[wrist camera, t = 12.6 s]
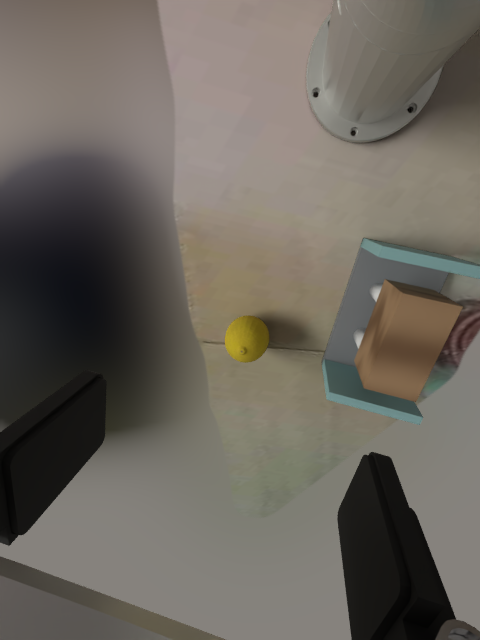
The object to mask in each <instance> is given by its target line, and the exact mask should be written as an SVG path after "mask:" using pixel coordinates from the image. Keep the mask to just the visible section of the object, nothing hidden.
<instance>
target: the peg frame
mask: <svg viewBox="0 0 480 640" xmlns="http://www.w3.org/2000/svg"><path fill="white" fill-rule="evenodd" d="M449 272H450V273H455V274H459V275H464V276H469V277H473V278H478V279H480V265H478V264H475V263H472V262H468V261H465V260H462V259H458V258H455V257H451V256H447V255H442V254H437V253H432V252H428V251H423V250H418V249H413V248H409V247H404V246H399V245H395V244H390V243H385V242H380V241H376V240H371V239H366V238H363V240H362V243H361V246H360V249H359V252H358V255H357V258H356V261H355V264H354V267H353V270H352V273H351V276H350V279H349V282H348V285H347V288H346V290H345V293H344V296H343V299H342V302H341V305H340V308H339V311H338V314H337V317H336V320H335V323H334V326H333V329H332V332H331V335H330V338H329V341H328V344H327V347H326V350H325V353H324V356H323V359H322V369H323V376H324V383H325V391H326V398H327V400H330V401H334V402H337V403H341V404H345V405H348V406H352V407H356V408H359V409H363V410H367V411H370V412H374V413H378V414H381V415H385V416H389V417H392V418H396V419H400V420H404V421H407V422H411V423H414V424H419V425H420V423H421V421H422V419H423V416H422V415H421V413H420V411H419V409H418V408H417V406H416V404H415V403H414V401H410V400H406V399H402V398H398V397H395V396H391V395H387V394H383V393H379V392H376V391H372V390H368V389H364V387H363V384H362V381H361V379H360V376H359V373H358V370H357V367H356V365H355V362H354V359H355V357H356V354H357V352H358V349H359V346H360V344H361V341H362V338H363V336H364V333H365V330H366V328H367V325H368V322H369V320H370V317H371V315H372V312H373V309H374V307H375V304H376V301H377V299H378V296H379V293H380V291H381V288H382V285H383V283H384V280H385V279H387V280H391V281H396V282H400V283H405V284H409V285H414V286H419V287H423V288H428V289H432V290H435V291H437V292H438V293H440V291H441V289H442V287H443V284H444V282H445V280H446V278H447V276H448V274H449Z"/></svg>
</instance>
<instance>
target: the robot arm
mask: <svg viewBox="0 0 480 640" xmlns="http://www.w3.org/2000/svg"><path fill="white" fill-rule="evenodd" d="M479 28H480V0H333V4H332V11H331V13H330V14H329V15H328V16H327V18H326V19H325V21H324V22H323V24H322V25H321V27H320V29H319V31H318V33H317V35H316V37H315V39H314V41H313V44H312V47H311V51H310V54H309V57H308V64H307V71H306V87H307V96H308V100H309V103H310V107H311V109H312V111H313V113H314V115H315V117H316V119H317V121H318V122H319V123H320V124H321V126H322V127H323V128H324V129H325V130H326V131H328V132H329V133H330V134H331V135H333V136H335V137H337V138H339V139H341V140H344V141H348V142H353V143H367V142H372V141H377V140H380V139H382V138H385V137H388V136H390V135H392V134H393V133H395V132H396V131H398V130H400V129H401V128H403V127H404V126H405V125H406V124H408V123H409V122H410V121H411V120H412V119H413V118H414V117H415V116H416V115H417V114H418V113H419V112H420V111H421V110H422V108H423V107H424V106H425V104H426V103H427V102H428V100H429V99H430V97H431V95H432V93H433V91H434V90H435V88H436V86H437V84H438V81H439V78H440V75H441V73H442V70H443V65H444V64H445V63H446V62H447V61H448V60H449V59H450V58H451V57H452V56H453V55H454V54H455V53H456V52H457V51H458V50H459V49H460V48H461V47H462V45H463V44H464V43H465V42H466V41H467V40H468V39H469V38H470V37H471V36H472V35H473V34H474V33H475V32H476V31H477V30H478V29H479ZM315 93H317V94H318V97H316V98H315V97H314V96H313V95H314V94H315ZM408 108H411V109H412V112H411V113H409V112H408V111H407V110H408ZM352 131H355V135H354V136H352V135H351V132H352ZM105 411H106V380H104V379H103V376H102V375H101V374H98V373H95V372H91V371H88V370H86V371H83V372H82V373H81V374H79V375H78V376H76V377H75V378H74V379H72V380H71V381H70V382H68V383H67V384H66V385H64V386H63V387H61V388H60V389H59V390H58V391H56V392H55V393H53V394H52V395H51V396H49V397H48V398H46V399H45V400H44V401H43V402H41V403H40V404H38V405H37V406H36V407H34V408H33V409H32V410H30V411H29V412H27V413H26V414H25V415H23V416H22V417H21V418H19V419H18V420H17V421H15V422H14V423H12V424H11V425H10V426H8V427H7V428H6V429H4V430H3V431H2V432H0V543H3V544H6V545H11V543H12V542H13V541H14V540H15V539H16V538H17V537H18V535H23V534H25V533H26V532H27V531H28V530H29V529H30V528H31V527H32V526H33V524H34V523H35V522H36V521H37V520H38V518H39V517H40V516H41V515H42V514H43V513H44V511H45V510H46V509H47V508H48V507H49V506H50V504H51V503H52V502H53V501H54V500H55V499H56V497H57V496H58V495H59V494H60V493H61V492H62V490H63V489H64V488H65V487H66V486H67V485H68V483H69V482H70V481H71V480H72V479H73V478H74V476H75V475H76V474H77V473H78V472H79V470H80V469H81V468H82V467H83V466H84V465H85V463H86V462H87V461H88V460H89V459H90V458H91V457H92V455H93V454H94V453H95V452H96V451H97V450H98V448H99V447H100V446H101V445H102V443H103V441H104V437H105V414H106V413H105ZM338 528H339V536H340V545H341V553H342V561H343V569H344V578H345V587H346V595H347V604H348V612H349V620H350V629H351V637H352V640H480V631H478V630H477V629H476V628H475V627H473V626H471V625H469V624H467V623H466V622H464V621H460V620H456V618H455V615H454V612H453V610H452V607H451V605H450V602H449V599H448V597H447V594H446V591H445V589H444V586H443V583H442V581H441V578H440V576H439V573H438V570H437V568H436V565H435V562H434V560H433V557H432V555H431V552H430V549H429V547H428V544H427V541H426V539H425V537H424V534H423V531H422V528H421V526H420V523H419V520H418V518H417V516H416V514H415V512H414V511H413V510H412V508H409V505H408V503H407V500H406V497H405V495H404V492H403V489H402V486H401V484H400V481H399V478H398V475H397V473H396V470H395V467H394V465H393V462H392V459H391V458H390V457H388V456H384V455H381V454H378V453H374V452H371V453H370V454H369V455H364V456H363V457H362V459H361V462H360V464H359V466H358V468H357V470H356V472H355V475H354V477H353V479H352V481H351V483H350V486H349V488H348V490H347V492H346V494H345V497H344V499H343V501H342V503H341V505H340V508H339V511H338ZM0 640H225V639H223V638H220V637H217V636H215V635H212V634H209V633H207V632H204V631H202V630H199V629H196V628H194V627H191V626H188V625H185V624H183V623H180V622H177V621H175V620H172V619H169V618H167V617H164V616H161V615H159V614H156V613H153V612H150V611H148V610H145V609H143V608H140V607H137V606H135V605H132V604H129V603H127V602H124V601H121V600H119V599H116V598H113V597H111V596H108V595H105V594H102V593H100V592H97V591H94V590H92V589H89V588H86V587H83V586H80V585H78V584H75V583H72V582H70V581H67V580H64V579H61V578H59V577H56V576H53V575H51V574H48V573H45V572H42V571H40V570H37V569H34V568H32V567H29V566H26V565H23V564H21V563H17V562H15V561H12V560H9V559H6V558H3V557H0Z"/></svg>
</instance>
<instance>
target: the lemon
mask: <svg viewBox="0 0 480 640" xmlns="http://www.w3.org/2000/svg"><path fill="white" fill-rule="evenodd" d="M268 344H269V332H268V329H267V327H266V325H265V324H264V322H263V321H261V320H260V319H259V318H257V317H254V316H242V317H239V318H237V319H236V320H234V321H233V322H232V323H231V324H230V326H229V327H228V329H227V331H226V336H225V346H226V349H227V351H228V353H229V354H230V356H231V357H232V358H234V359H235V360H237V361H240V362H252V361H255V360H257V359H258V358H259V357H261V356H262V355H263V353H264V352H265V351H266V349H267V346H268Z"/></svg>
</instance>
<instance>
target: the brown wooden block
mask: <svg viewBox="0 0 480 640" xmlns="http://www.w3.org/2000/svg"><path fill="white" fill-rule="evenodd" d="M462 308H463V307H462V306H460V305H459V304H457V303H455V302H454V301H452V300H450V299H449V298H447V297H445V296H443V295H442V294H440V293H438V292H437V291H435V290H432V289H428V288H423V287H419V286H414V285H409V284H405V283H400V282H396V281H391V280H387V279H385V280H384V283H383V285H382V288H381V291H380V293H379V296H378V299H377V301H376V304H375V307H374V309H373V312H372V315H371V317H370V320H369V322H368V325H367V328H366V330H365V333H364V336H363V338H362V341H361V344H360V346H359V349H358V352H357V354H356V357H355V359H354V362H355V365H356V367H357V370H358V373H359V376H360V379H361V381H362V384H363V387H364V389H368V390H372V391H376V392H379V393H383V394H387V395H391V396H395V397H398V398H402V399H406V400H410V401H414V402H416V401H417V399H418V397H419V395H420V393H421V390H422V388H423V386H424V384H425V382H426V380H427V378H428V376H429V374H430V372H431V370H432V368H433V366H434V364H435V362H436V360H437V358H438V356H439V354H440V352H441V350H442V348H443V346H444V344H445V342H446V340H447V338H448V336H449V334H450V332H451V330H452V328H453V326H454V324H455V322H456V320H457V318H458V316H459V314H460V312H461V310H462Z"/></svg>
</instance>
